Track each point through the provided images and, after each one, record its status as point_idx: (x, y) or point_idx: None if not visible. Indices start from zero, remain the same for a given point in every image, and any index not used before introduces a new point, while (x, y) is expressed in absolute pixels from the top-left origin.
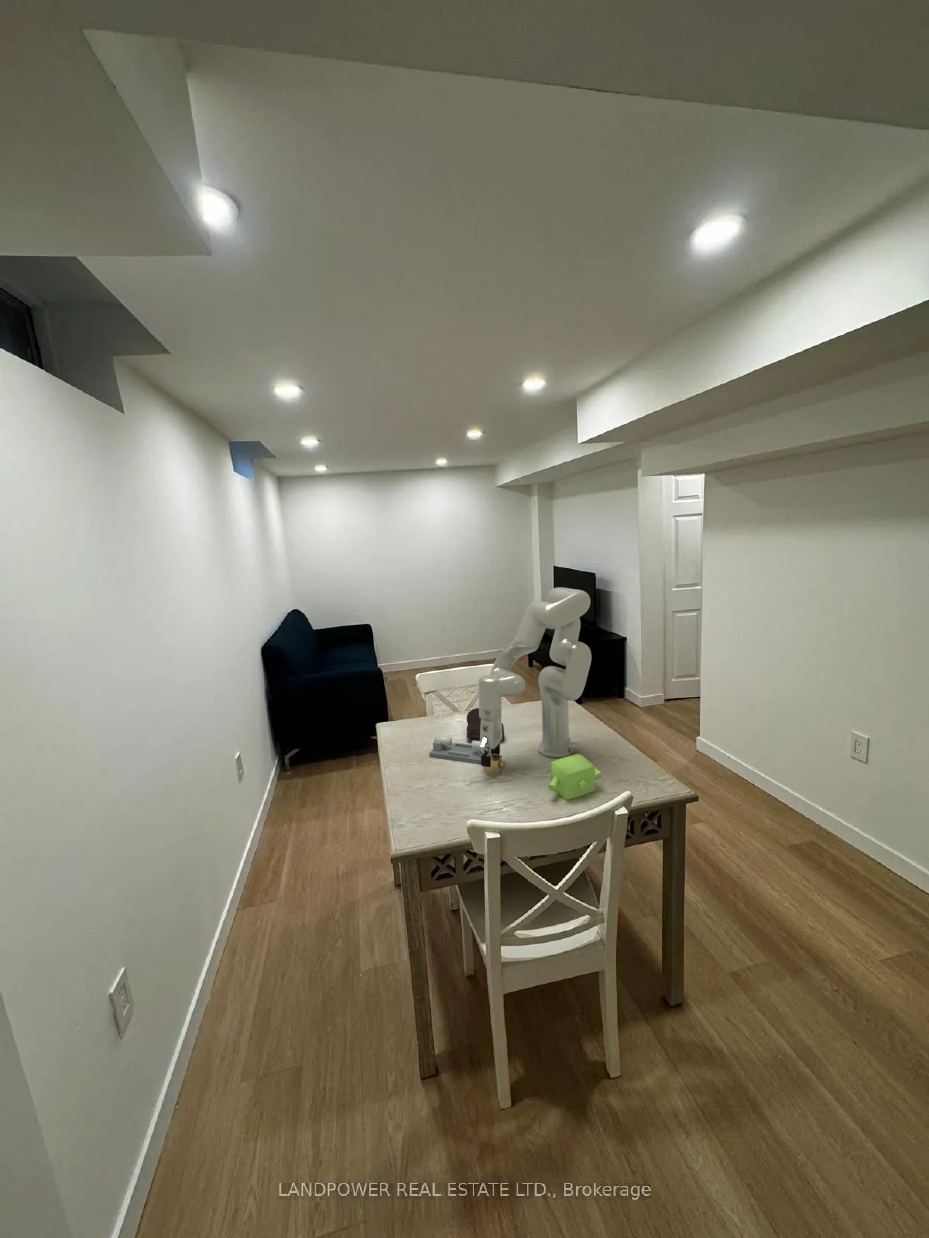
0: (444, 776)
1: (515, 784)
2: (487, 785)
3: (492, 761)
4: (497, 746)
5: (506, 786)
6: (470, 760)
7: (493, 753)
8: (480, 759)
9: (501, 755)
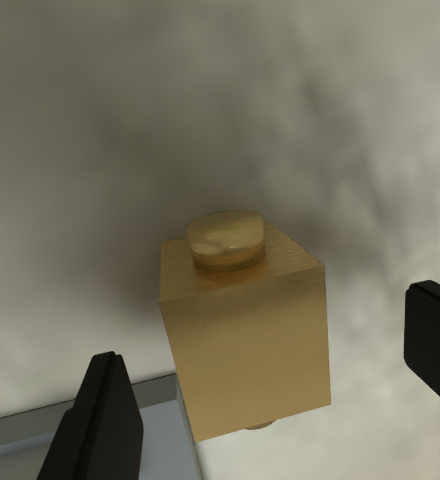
0: (390, 460)
1: (356, 8)
2: (422, 215)
3: (321, 319)
4: (103, 466)
5: (404, 74)
6: (199, 474)
7: (136, 409)
8: (172, 437)
9: (162, 308)
